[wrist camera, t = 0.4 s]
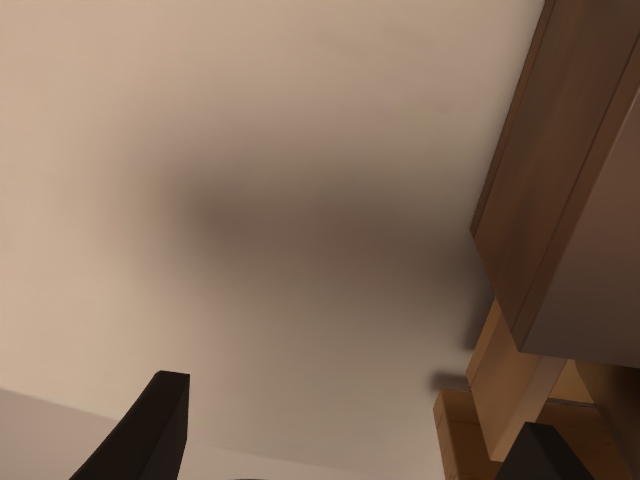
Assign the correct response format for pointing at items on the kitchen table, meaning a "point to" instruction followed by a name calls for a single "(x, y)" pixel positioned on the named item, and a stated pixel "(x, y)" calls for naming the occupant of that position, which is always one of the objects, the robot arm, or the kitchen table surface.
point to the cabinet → (570, 189)
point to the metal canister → (617, 406)
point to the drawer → (517, 409)
